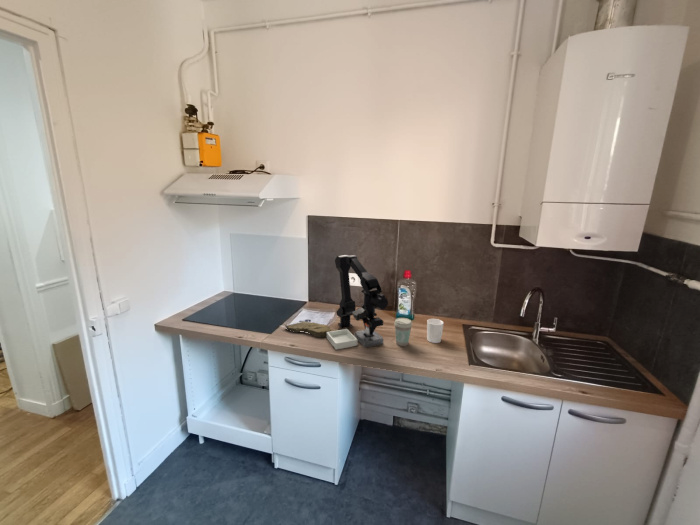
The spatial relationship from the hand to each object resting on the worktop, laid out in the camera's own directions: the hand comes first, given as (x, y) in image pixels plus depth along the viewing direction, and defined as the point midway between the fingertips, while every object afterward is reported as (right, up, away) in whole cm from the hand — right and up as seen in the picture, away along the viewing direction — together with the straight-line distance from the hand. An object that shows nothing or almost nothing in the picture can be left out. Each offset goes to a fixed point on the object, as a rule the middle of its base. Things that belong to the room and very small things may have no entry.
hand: (368, 332), depth 153 cm
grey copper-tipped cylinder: (0, -4, +1) cm, 4 cm away
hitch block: (0, -4, +1) cm, 4 cm away
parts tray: (-14, -4, -1) cm, 14 cm away
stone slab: (-31, -2, +11) cm, 33 cm away
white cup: (+33, -5, +2) cm, 34 cm away
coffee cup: (+16, -5, -2) cm, 17 cm away
